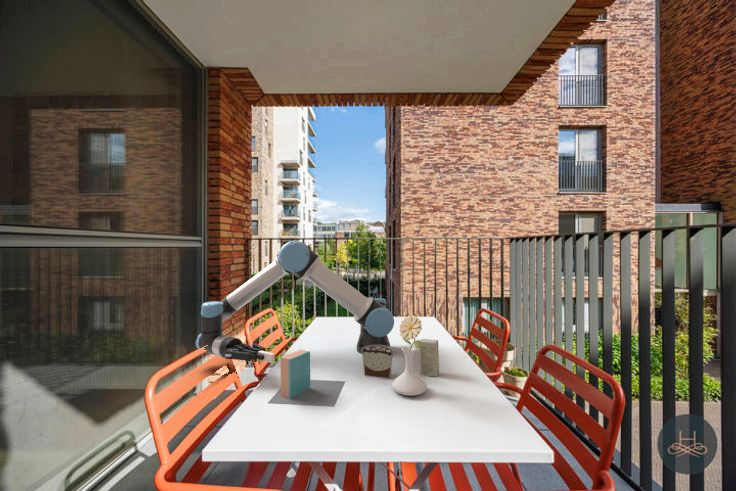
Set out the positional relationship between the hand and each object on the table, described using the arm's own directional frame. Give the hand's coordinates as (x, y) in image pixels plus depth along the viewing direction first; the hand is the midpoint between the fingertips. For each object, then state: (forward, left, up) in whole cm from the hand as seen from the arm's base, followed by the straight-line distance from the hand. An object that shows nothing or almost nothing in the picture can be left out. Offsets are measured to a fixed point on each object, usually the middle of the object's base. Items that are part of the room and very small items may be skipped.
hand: (272, 358), depth 111 cm
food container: (-34, -15, -10) cm, 39 cm away
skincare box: (-52, -17, -10) cm, 56 cm away
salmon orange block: (-9, +4, -9) cm, 14 cm away
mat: (-13, +3, -9) cm, 17 cm away
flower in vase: (-45, -1, -10) cm, 46 cm away
